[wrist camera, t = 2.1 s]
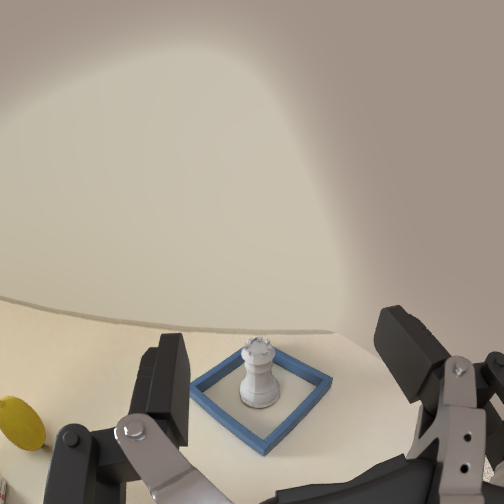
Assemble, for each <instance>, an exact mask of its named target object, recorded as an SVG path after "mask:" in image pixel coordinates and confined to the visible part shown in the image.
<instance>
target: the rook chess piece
mask: <svg viewBox="0 0 504 504" xmlns="http://www.w3.org/2000/svg"><path fill="white" fill-rule="evenodd" d="M241 355H242V358H243V359H244V360H245V363H244V364H245V367H246V369H247V374H246V376H245V378H244V379H243V380H242V382H241V386H240V396H241V399H242V400H243V401H244V402H245V403H246V404H247V405H250V406H252V407H258V408H262V407H267V406H270V405H271V404H273V403H274V402H276V400H277V399H278V397H279V394H280V390H279V384H278V382H277V379H276V378H275V377H274V376H273V375H272V372H271V367H272V366H273V361H272V359H273V358H274V356H275V349H274V347H273V346H271V345H270V341H269V340H268V339H265V341H262V337H257V340H256V341H253V338H251V339H249V340H248V343H245V346H244V348H243V349H242V352H241Z"/></svg>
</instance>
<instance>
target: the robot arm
mask: <svg viewBox="0 0 504 504" xmlns="http://www.w3.org/2000/svg"><path fill="white" fill-rule="evenodd" d="M374 346H375V348H376V350H377V352H378V353H379V355H380V356H381V358H382V360H383V361H384V363H385V364H386V366H387V367H388V369H389V371H390V372H391V374H392V375H393V377H394V378H395V380H396V382H397V383H398V385H399V386H400V388H401V390H402V391H403V393H404V395H405V396H406V398H407V399H408V401H409V403H410V404H411V403H414V402H416V401H418V400H421V402H422V404H421V405H420V408H419V414H418V419H417V425H416V430H415V435H414V440H413V444H412V446H411V449H410V450H409V452H408V454H407V456H406V458H405V456H404V454H401V455H399V456H396V457H394V458H392V459H389V460H387V461H384V462H382V463H379V464H376V465H375V466H373V467H372V468H370V469H369V470H367V471H366V472H364V473H362V474H361V475H359V476H358V477H356V478H354V479H353V480H351V481H349V482H345V483H332V484H309V485H305V486H300V487H295V488H290V489H284V490H277V491H276V493H275V497H272V498H270V499H267V500H265V501H263V502H261V503H259V504H504V421H502V419H501V418H500V416H499V414H498V413H497V411H496V410H495V408H494V407H493V405H492V404H491V402H490V401H489V400H490V399H491V398H492V396H493V395H494V394H495V393H496V394H497V395H498V397H499V398H500V400H501V401H502V403H503V404H504V354H502V353H500V352H491V353H489V354H488V356H487V358H486V360H485V361H484V362H483V363H475V364H472V363H471V362H470V361H469V360H468V359H466V358H464V357H462V356H451V355H450V354H449V353H448V352H447V350H446V349H445V348H444V347H443V346H442V345H441V344H440V343H439V341H438V340H437V339H436V338H435V337H434V336H433V335H432V333H431V332H430V331H429V330H428V329H426V326H425V325H424V324H423V323H422V322H421V321H420V320H419V319H417V318H416V317H414V316H412V315H411V314H408V313H407V312H406V311H405V310H404V309H403V308H402V307H401V306H400V305H395V306H391V307H386V308H383V309H382V310H381V312H380V316H379V320H378V323H377V327H376V331H375V334H374ZM190 376H191V373H190V363H189V359H188V355H187V351H186V348H185V344H184V340H183V336H182V334H181V333H167V334H161V337H160V341H159V346H158V347H149V349H148V350H147V351H146V352H145V354H144V355H143V356H142V358H141V362H140V366H139V370H138V374H137V379H136V382H135V387H134V391H133V395H132V400H131V405H130V409H129V413H128V415H127V416H125V417H123V418H122V419H121V420H120V421H119V422H118V423H117V425H116V427H113V428H110V429H104V430H98V431H92V432H89V430H88V429H87V428H86V427H84V426H83V425H80V424H68V425H66V426H64V427H63V428H61V429H60V431H59V432H58V434H57V436H56V439H55V443H54V447H53V451H52V456H51V460H50V465H49V470H48V476H47V481H46V487H45V494H44V501H43V504H126V482H130V481H136V480H143V481H144V483H145V484H146V485H147V487H148V488H149V490H150V494H151V496H152V497H153V499H154V500H155V501H156V503H157V504H234V503H233V502H232V501H231V500H229V499H228V498H227V497H226V496H225V495H224V494H223V493H222V492H221V491H220V490H219V489H217V488H216V487H215V486H214V485H213V484H212V483H211V482H210V481H209V480H208V479H207V478H206V477H205V476H204V475H203V474H202V473H201V472H200V471H199V470H198V469H197V468H195V467H194V466H192V465H191V464H190V462H189V461H188V460H187V459H186V458H185V457H184V456H183V455H182V454H181V452H180V451H179V446H188V419H189V395H190ZM485 455H486V457H487V459H488V461H489V463H490V465H491V467H492V469H493V471H494V476H493V477H492V478H491V479H490V483H488V482H485V481H482V480H483V472H484V463H485Z"/></svg>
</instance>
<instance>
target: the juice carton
mask: <svg viewBox="0 0 504 504" xmlns="http://www.w3.org/2000/svg"><path fill="white" fill-rule="evenodd" d="M5 490H6V480H5V479H4V478H3V477H2V476H1V475H0V504H4V498H5Z"/></svg>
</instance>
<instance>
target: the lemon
mask: <svg viewBox="0 0 504 504" xmlns="http://www.w3.org/2000/svg"><path fill="white" fill-rule="evenodd" d="M0 429H1V430H2V432H3V433H4V435H5V436H6V437H7V438H8V439H9V440H10V441H11V442H12V443H13V444H15V445H16V446H17V447H19V448H21V449H24V450H27V451H34V450H37V449H39V448H40V447H41V446H42V445H43V444H44V441H45V437H46V434H45V428H44V425H43V423H42V421H41V419H40V417H39V416H38V415H37V413H36V412H35V411H34V410H33V409H32V408H31V407H30V406H29V405H28V404H27V403H25V402H24V401H23V400H21V399H19V398H17V397H13V396H7V397H4V398H2V399H0Z"/></svg>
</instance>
